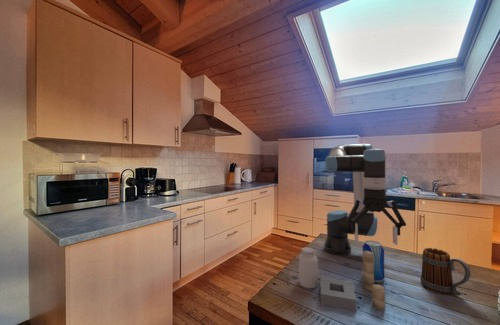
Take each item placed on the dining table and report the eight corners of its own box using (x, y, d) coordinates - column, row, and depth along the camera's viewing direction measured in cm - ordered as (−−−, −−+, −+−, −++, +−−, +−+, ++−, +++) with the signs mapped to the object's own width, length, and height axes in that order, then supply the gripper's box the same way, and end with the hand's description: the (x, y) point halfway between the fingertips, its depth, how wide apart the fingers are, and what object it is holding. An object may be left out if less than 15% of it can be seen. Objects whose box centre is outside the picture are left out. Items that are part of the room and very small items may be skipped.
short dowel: (370, 302, 79) (370, 283, 79) (383, 304, 77) (382, 285, 78) (373, 309, 75) (373, 289, 75) (386, 311, 74) (386, 291, 74)
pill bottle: (303, 290, 87) (303, 253, 87) (296, 279, 95) (296, 246, 95) (321, 288, 88) (321, 252, 88) (312, 277, 96) (312, 245, 96)
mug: (414, 283, 91) (414, 248, 91) (429, 278, 95) (429, 245, 95) (462, 306, 76) (461, 264, 76) (477, 298, 80) (476, 259, 80)
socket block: (320, 286, 89) (320, 277, 89) (351, 291, 85) (351, 281, 85) (320, 304, 78) (320, 293, 78) (356, 311, 74) (356, 300, 74)
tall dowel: (362, 285, 89) (361, 250, 90) (372, 287, 88) (372, 251, 88) (364, 291, 86) (363, 254, 86) (375, 292, 84) (374, 255, 85)
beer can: (387, 284, 90) (387, 247, 90) (366, 282, 92) (366, 245, 92) (379, 274, 98) (379, 240, 99) (360, 272, 100) (360, 239, 100)
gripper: (341, 188, 83) (342, 241, 83) (416, 190, 76) (417, 248, 76) (339, 186, 90) (340, 235, 90) (407, 187, 83) (408, 241, 83)
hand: (375, 241), depth 83 cm, fingers open, 13 cm apart
